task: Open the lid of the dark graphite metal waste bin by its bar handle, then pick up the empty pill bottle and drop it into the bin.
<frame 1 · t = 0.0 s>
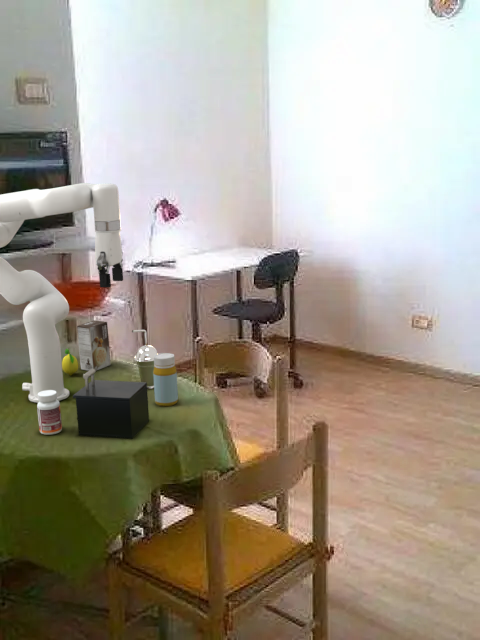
hand: (111, 283, 232), 37 cm above the table, tool pointing down, fingers open, 9 cm apart
bin lid: (110, 381, 215), point 14 cm above the table, hinge at 0.0°
waste bin: (114, 428, 218), on the table
coffee box: (95, 367, 276), on the table
cup with straw: (148, 387, 253), on the table
lemon: (70, 375, 267), on the table
bottle: (166, 403, 237), on the table
pill bottle: (51, 432, 217), on the table
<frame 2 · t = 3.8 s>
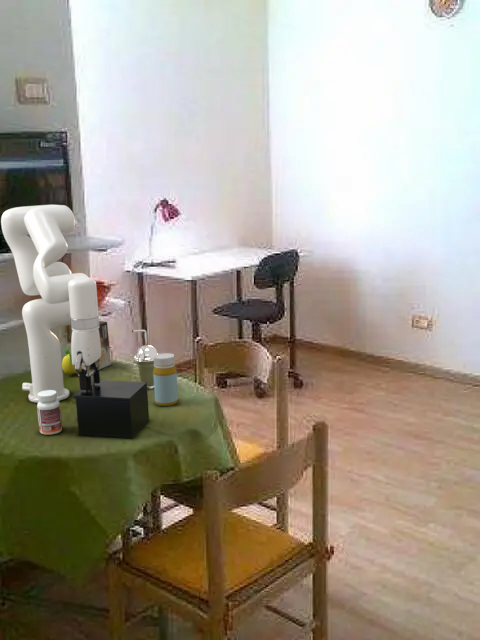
hand: (90, 385, 217), 12 cm above the table, tool pointing down, fingers closed on bin lid, 5 cm apart
bin lid: (110, 381, 215), point 14 cm above the table, hinge at 0.0°, touching gripper
everything else where it was.
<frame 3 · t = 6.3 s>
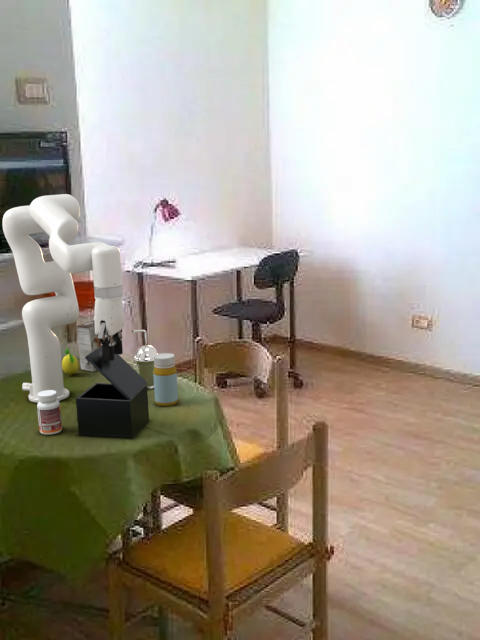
hand: (112, 356, 213), 21 cm above the table, tool pointing down, fingers closed on bin lid, 5 cm apart
bin lid: (122, 364, 213), point 19 cm above the table, hinge at 44.3°, touching gripper
everything else where it was.
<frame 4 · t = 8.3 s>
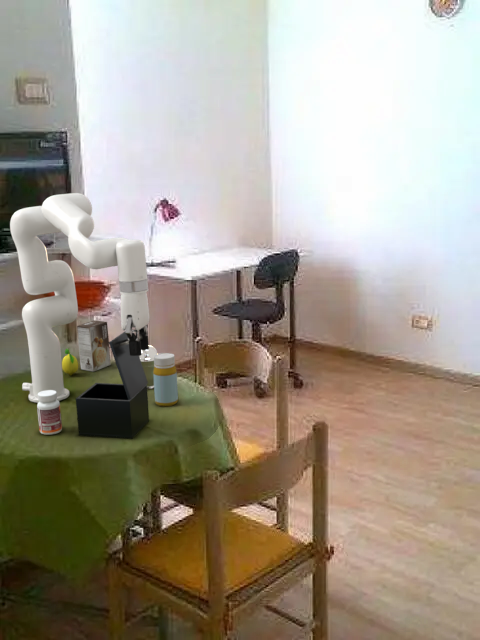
hand: (139, 351, 211), 23 cm above the table, tool pointing down, fingers closed on bin lid, 5 cm apart
bin lid: (136, 361, 212), point 20 cm above the table, hinge at 74.4°, touching gripper
everything else where it was.
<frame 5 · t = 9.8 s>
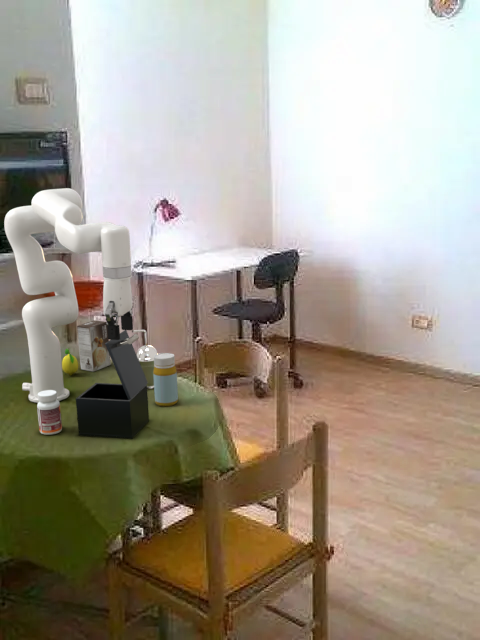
hand: (120, 334, 211), 27 cm above the table, tool pointing down, fingers open, 9 cm apart
bin lid: (134, 361, 212), point 20 cm above the table, hinge at 70.3°
everything else where it was.
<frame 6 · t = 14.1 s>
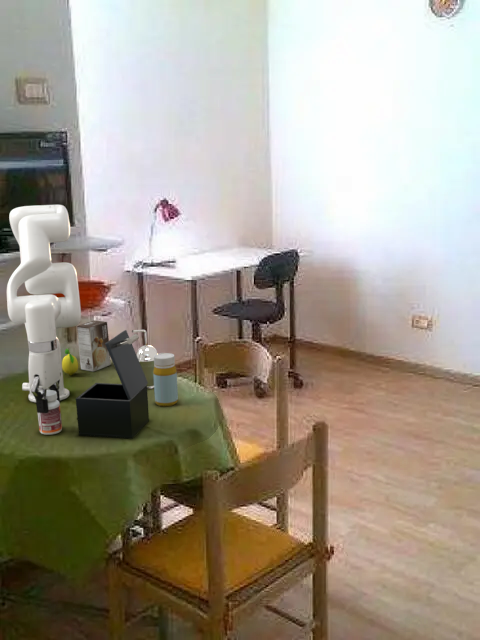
hand: (48, 407, 216), 7 cm above the table, tool pointing down, fingers closed on pill bottle, 6 cm apart
pill bottle: (51, 432, 217), on the table, touching gripper
everything else where it was.
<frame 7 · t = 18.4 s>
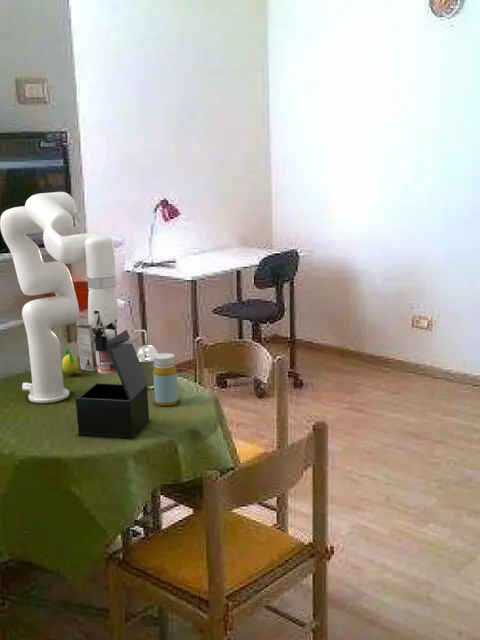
hand: (106, 346, 213), 24 cm above the table, tool pointing down, fingers closed on pill bottle, 6 cm apart
bin lid: (135, 361, 212), point 20 cm above the table, hinge at 71.0°
pill bottle: (108, 371, 214), point 17 cm above the table, touching gripper
everything else where it was.
when the fingers open (14 cm above the table, at t = 21.3 s): pill bottle drops 7 cm, resting on waste bin.
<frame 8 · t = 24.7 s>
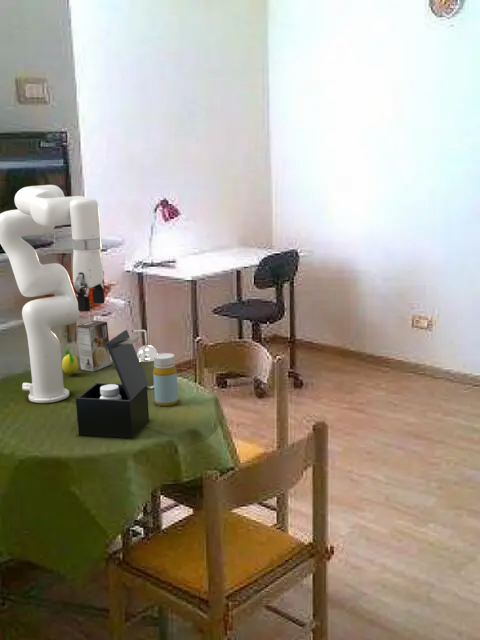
hand: (91, 307, 213), 34 cm above the table, tool pointing down, fingers open, 9 cm apart
pill bottle: (112, 426, 218), point 1 cm above the table, touching waste bin
everything else where it was.
at the end: bin lid at +71° (first picture: +0°); pill bottle inside the target area in the waste bin (0.6 cm from its centre), point 0.6 cm above the waste bin's base; the gripper is holding nothing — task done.
